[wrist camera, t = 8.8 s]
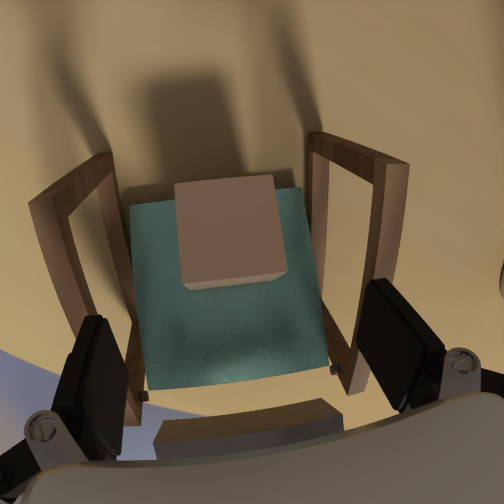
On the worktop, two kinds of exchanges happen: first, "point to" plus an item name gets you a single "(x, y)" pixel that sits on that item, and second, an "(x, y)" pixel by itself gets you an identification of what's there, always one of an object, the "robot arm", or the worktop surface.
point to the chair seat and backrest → (229, 335)
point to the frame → (379, 240)
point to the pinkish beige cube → (229, 232)
